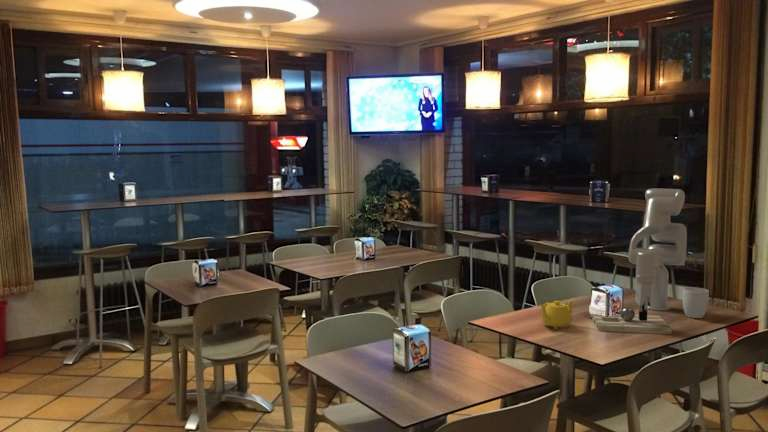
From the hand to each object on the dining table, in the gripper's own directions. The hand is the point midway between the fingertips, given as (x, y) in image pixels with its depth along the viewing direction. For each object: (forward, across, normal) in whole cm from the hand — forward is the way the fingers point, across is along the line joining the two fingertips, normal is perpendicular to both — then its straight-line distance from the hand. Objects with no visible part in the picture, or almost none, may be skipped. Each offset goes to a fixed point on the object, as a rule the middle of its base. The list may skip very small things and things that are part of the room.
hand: (642, 319), depth 290 cm
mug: (+3, -22, +29) cm, 36 cm away
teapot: (+3, +4, -38) cm, 39 cm away
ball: (-2, 0, -6) cm, 7 cm away
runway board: (+3, -1, -5) cm, 6 cm away
